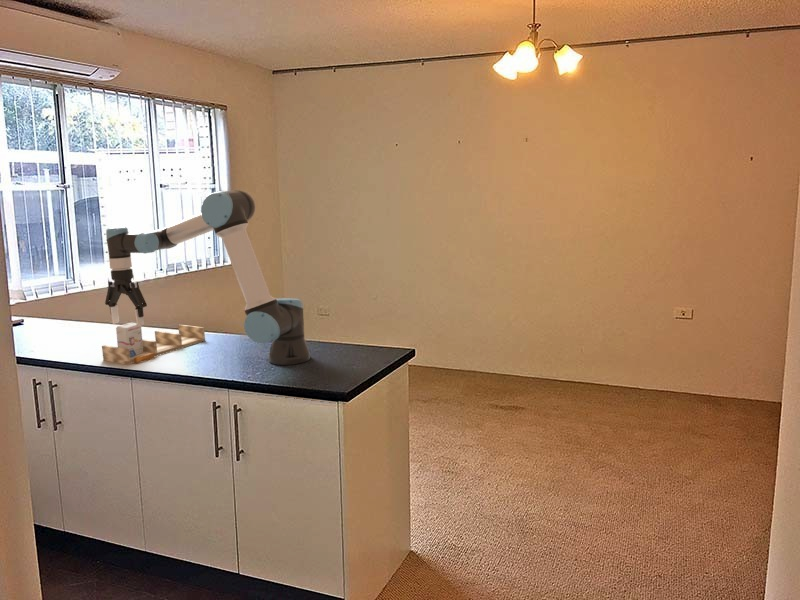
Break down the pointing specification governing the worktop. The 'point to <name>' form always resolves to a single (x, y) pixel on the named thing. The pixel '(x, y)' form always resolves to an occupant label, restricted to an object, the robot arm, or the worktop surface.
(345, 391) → the worktop surface
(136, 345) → the ink box
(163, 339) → the rack
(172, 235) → the robot arm
